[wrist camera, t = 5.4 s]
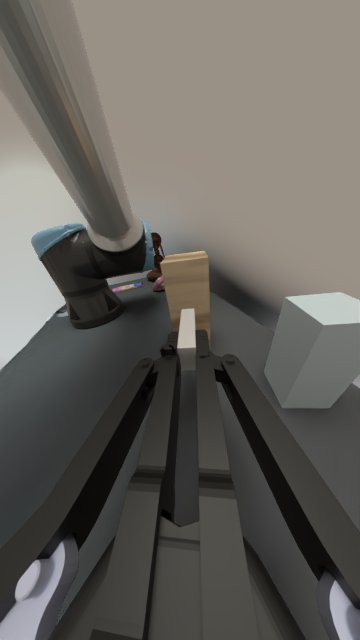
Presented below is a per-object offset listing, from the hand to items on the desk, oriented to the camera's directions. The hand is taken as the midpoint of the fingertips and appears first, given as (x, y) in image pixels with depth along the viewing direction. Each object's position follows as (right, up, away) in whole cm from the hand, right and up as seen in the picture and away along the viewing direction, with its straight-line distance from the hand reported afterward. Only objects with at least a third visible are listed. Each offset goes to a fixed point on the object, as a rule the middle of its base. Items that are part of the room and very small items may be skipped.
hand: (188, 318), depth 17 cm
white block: (+14, -9, +1) cm, 16 cm away
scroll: (-10, +22, +56) cm, 61 cm away
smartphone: (-25, +14, +49) cm, 57 cm away
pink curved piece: (-7, +13, +41) cm, 44 cm away
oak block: (+2, -5, +11) cm, 12 cm away
